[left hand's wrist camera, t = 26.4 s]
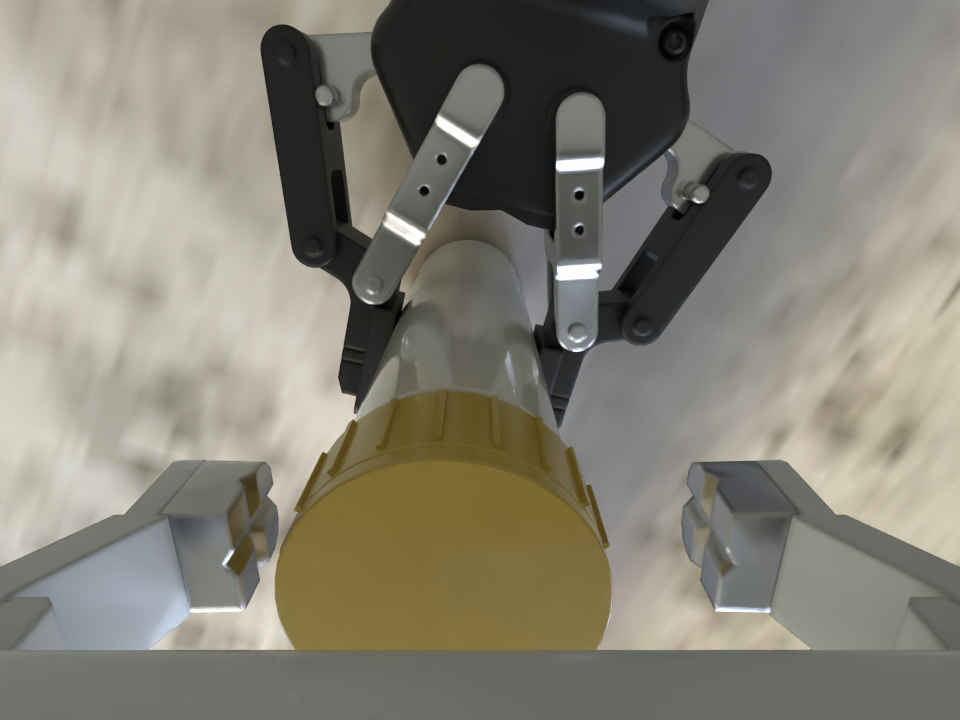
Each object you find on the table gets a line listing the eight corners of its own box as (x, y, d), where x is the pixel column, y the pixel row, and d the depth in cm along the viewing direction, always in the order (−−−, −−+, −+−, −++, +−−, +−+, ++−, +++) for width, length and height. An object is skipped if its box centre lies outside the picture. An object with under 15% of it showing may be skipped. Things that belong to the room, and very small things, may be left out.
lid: (488, 327, 9) (490, 383, 7) (644, 544, 11) (680, 639, 9) (250, 484, 10) (194, 569, 8) (422, 660, 12) (411, 769, 10)
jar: (452, 217, 24) (400, 385, 8) (541, 278, 24) (646, 533, 9) (395, 305, 25) (256, 594, 9) (482, 360, 26) (484, 704, 10)
